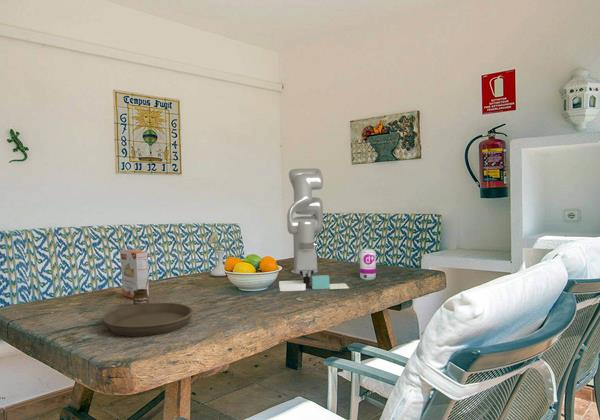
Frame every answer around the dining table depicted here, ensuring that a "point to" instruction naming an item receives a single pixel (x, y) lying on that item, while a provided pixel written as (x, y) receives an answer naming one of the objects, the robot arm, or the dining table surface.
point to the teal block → (320, 282)
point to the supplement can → (367, 264)
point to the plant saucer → (147, 318)
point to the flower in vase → (220, 267)
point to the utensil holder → (140, 295)
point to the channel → (292, 285)
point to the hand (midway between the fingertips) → (306, 284)
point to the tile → (338, 286)
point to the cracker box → (134, 271)
